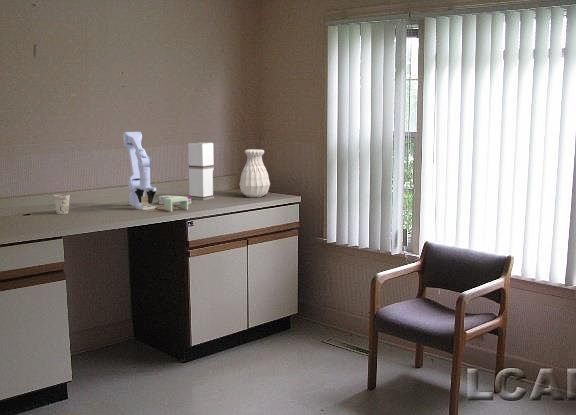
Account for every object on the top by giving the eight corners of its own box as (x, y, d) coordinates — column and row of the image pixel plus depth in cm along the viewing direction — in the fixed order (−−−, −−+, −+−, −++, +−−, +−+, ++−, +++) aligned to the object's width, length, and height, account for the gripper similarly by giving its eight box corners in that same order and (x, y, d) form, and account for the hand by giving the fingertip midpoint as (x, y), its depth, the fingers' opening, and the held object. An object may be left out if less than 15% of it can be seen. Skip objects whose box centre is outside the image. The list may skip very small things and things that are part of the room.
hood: (164, 210, 363) (164, 198, 362) (181, 208, 371) (181, 196, 370) (171, 211, 358) (170, 199, 357) (188, 209, 365) (188, 197, 364)
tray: (136, 208, 370) (136, 206, 370) (148, 207, 375) (148, 205, 375) (143, 210, 364) (143, 208, 364) (155, 208, 369) (155, 206, 369)
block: (142, 205, 371) (141, 196, 371) (150, 205, 372) (149, 196, 371) (141, 206, 367) (141, 197, 366) (149, 206, 368) (149, 197, 367)
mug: (55, 214, 354) (54, 196, 352) (52, 211, 365) (51, 193, 363) (71, 213, 358) (70, 195, 356) (67, 210, 369) (67, 192, 367)
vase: (235, 198, 418) (234, 150, 413) (244, 193, 437) (243, 148, 432) (265, 199, 413) (265, 151, 409) (273, 194, 433) (273, 149, 428)
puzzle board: (133, 209, 371) (133, 207, 370) (167, 205, 385) (166, 203, 385) (154, 215, 354) (153, 212, 353) (188, 210, 368) (188, 208, 368)
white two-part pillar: (214, 198, 417) (213, 142, 412) (203, 200, 408) (202, 143, 403) (200, 196, 423) (199, 142, 418) (189, 198, 415) (188, 143, 409)
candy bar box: (191, 204, 393) (165, 203, 396) (191, 196, 392) (166, 195, 396) (184, 205, 382) (158, 204, 385) (184, 197, 381) (158, 196, 385)
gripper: (159, 179, 367) (160, 203, 369) (140, 177, 374) (141, 201, 376) (150, 180, 361) (151, 204, 363) (131, 178, 368) (132, 202, 370)
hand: (145, 203), depth 369 cm, fingers closed on block, 6 cm apart
